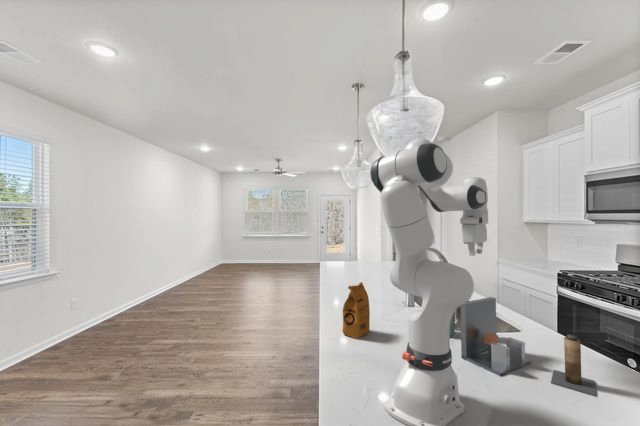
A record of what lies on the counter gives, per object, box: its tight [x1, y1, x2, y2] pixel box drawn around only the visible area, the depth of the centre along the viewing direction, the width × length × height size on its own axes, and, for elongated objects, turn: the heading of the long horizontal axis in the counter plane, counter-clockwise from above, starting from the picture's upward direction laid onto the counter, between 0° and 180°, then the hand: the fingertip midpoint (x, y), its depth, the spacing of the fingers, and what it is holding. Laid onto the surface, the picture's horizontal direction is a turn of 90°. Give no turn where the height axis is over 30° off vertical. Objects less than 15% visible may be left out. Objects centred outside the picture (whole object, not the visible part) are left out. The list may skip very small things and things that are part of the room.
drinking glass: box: [450, 311, 456, 338], centre depth 129 cm, size 10×10×12 cm
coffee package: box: [342, 281, 371, 340], centre depth 130 cm, size 10×12×22 cm
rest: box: [550, 369, 597, 397], centre depth 89 cm, size 10×10×1 cm
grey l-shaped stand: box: [460, 296, 532, 377], centre depth 104 cm, size 18×14×20 cm
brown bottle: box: [563, 334, 582, 385], centre depth 90 cm, size 4×4×14 cm
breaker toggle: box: [485, 333, 499, 356], centre depth 105 cm, size 3×3×7 cm
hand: (475, 254), depth 113 cm, fingers open, 8 cm apart
